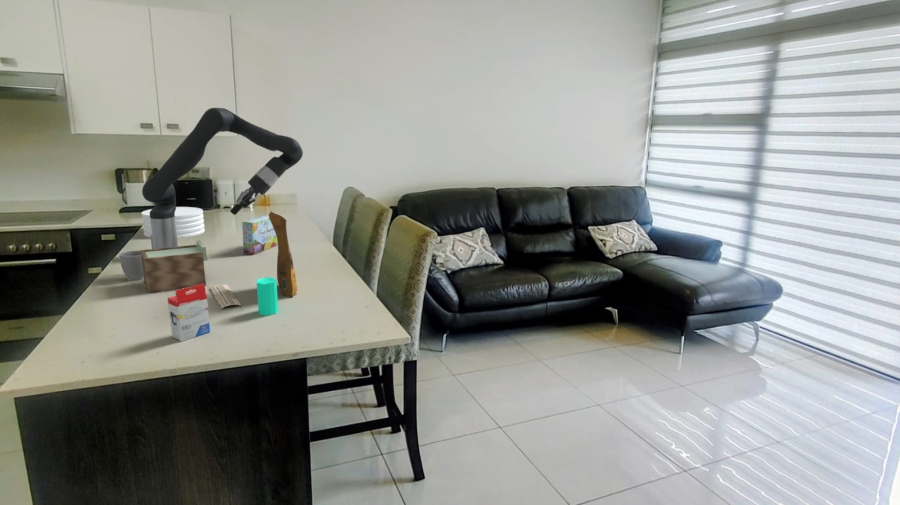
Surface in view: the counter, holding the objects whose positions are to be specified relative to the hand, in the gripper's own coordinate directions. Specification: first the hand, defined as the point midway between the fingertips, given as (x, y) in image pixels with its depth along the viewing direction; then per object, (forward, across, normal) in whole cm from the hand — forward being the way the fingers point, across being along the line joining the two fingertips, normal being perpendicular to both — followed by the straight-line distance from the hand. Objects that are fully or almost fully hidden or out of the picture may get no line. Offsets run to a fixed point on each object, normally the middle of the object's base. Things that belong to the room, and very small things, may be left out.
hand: (232, 213), depth 191 cm
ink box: (+34, +55, 0) cm, 65 cm away
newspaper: (+24, +27, +11) cm, 38 cm away
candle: (+18, +48, +16) cm, 54 cm away
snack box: (+4, -34, +31) cm, 46 cm away
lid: (+25, +4, -4) cm, 26 cm away
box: (+32, +4, +2) cm, 33 cm away
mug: (+40, -12, -6) cm, 43 cm away
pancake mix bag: (+10, +30, +24) cm, 40 cm away
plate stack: (+25, -90, +11) cm, 94 cm away
